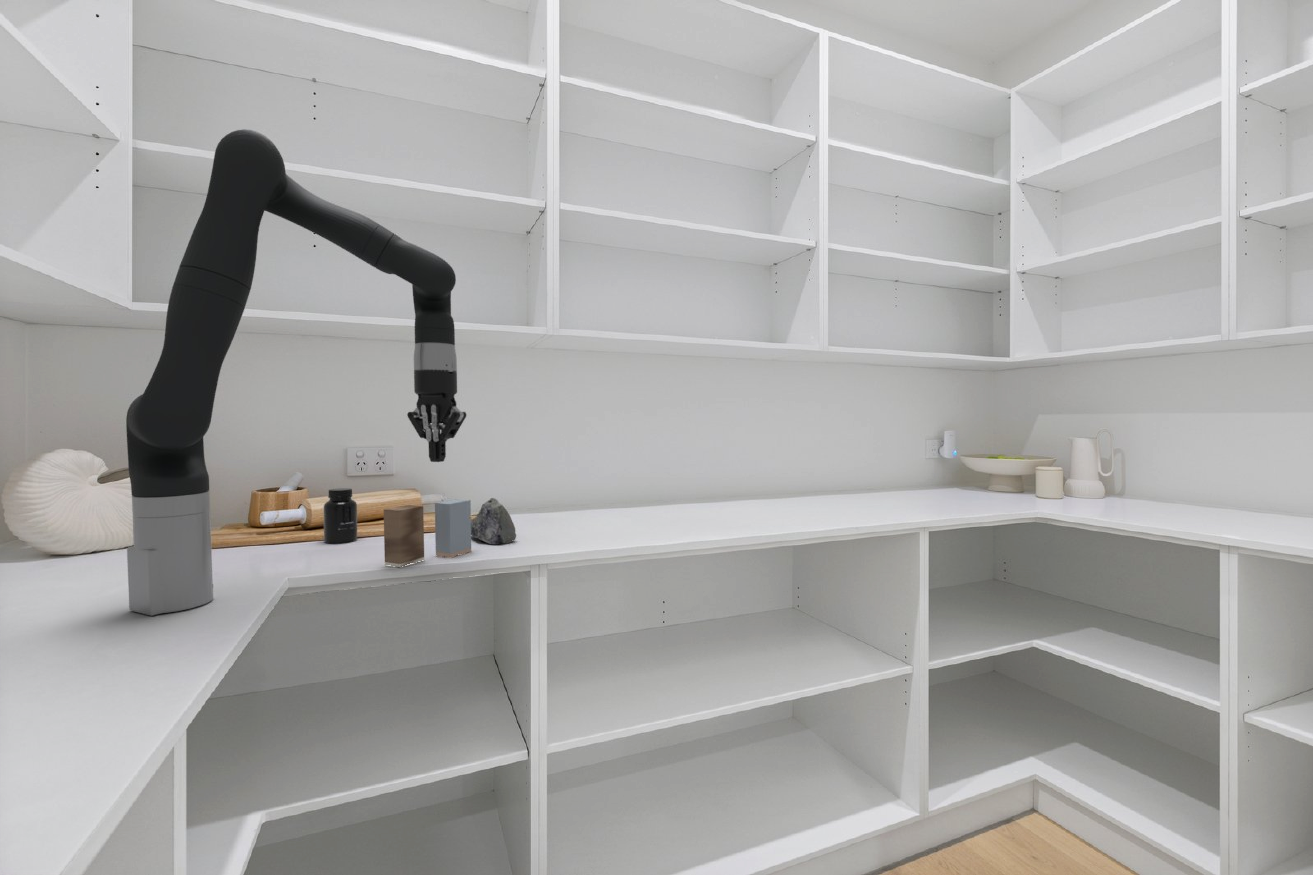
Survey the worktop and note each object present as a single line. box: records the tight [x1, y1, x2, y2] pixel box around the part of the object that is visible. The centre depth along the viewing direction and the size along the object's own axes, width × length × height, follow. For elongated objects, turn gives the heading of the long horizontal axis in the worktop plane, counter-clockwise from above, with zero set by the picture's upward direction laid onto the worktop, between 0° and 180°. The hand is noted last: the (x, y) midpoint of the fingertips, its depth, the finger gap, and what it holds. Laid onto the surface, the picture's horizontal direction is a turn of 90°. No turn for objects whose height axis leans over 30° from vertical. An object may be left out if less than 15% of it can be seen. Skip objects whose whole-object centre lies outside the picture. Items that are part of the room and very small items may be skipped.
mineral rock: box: [471, 497, 517, 545], centre depth 138 cm, size 13×11×10 cm
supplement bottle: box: [323, 487, 358, 545], centre depth 137 cm, size 7×7×12 cm
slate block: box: [434, 498, 472, 558], centre depth 124 cm, size 6×4×11 cm, turn 155°
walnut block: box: [383, 504, 425, 569], centre depth 116 cm, size 6×4×11 cm, turn 155°
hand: (437, 461), depth 112 cm, fingers closed
